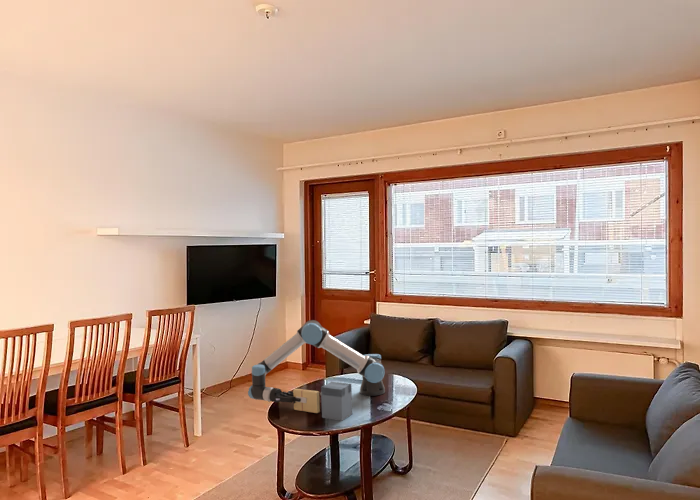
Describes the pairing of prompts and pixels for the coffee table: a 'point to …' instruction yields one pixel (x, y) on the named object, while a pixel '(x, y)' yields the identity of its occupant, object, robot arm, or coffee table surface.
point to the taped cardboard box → (311, 397)
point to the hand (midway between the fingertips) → (307, 399)
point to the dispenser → (336, 400)
